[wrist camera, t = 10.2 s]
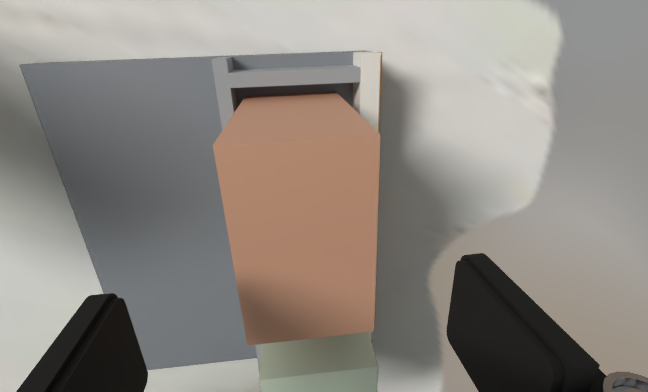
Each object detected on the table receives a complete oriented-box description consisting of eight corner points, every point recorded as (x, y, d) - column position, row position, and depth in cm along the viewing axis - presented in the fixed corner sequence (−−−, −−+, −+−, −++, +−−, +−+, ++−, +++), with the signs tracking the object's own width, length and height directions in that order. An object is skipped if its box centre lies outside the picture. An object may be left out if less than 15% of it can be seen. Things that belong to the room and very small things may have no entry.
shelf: (363, 331, 29) (372, 366, 26) (139, 355, 28) (121, 396, 25) (369, 50, 20) (384, 52, 17) (38, 62, 19) (-12, 67, 16)
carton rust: (338, 216, 23) (375, 331, 14) (261, 222, 22) (247, 345, 13) (336, 90, 20) (382, 134, 11) (245, 95, 19) (212, 145, 10)
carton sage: (343, 329, 27) (374, 475, 18) (278, 336, 27) (276, 489, 18) (342, 241, 24) (379, 366, 15) (268, 248, 23) (259, 380, 14)
